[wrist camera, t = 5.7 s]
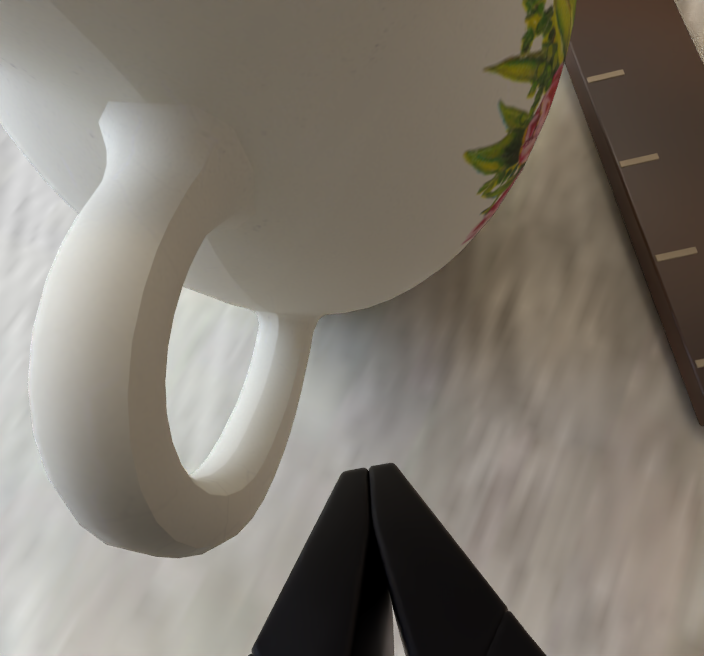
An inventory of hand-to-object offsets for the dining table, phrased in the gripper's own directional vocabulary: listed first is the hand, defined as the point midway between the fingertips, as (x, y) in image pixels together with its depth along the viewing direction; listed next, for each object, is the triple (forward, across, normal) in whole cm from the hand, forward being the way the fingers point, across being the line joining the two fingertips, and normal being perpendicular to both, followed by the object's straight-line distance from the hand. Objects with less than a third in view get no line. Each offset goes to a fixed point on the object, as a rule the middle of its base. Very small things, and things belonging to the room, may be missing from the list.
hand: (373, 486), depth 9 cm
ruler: (+10, -10, -1) cm, 14 cm away
